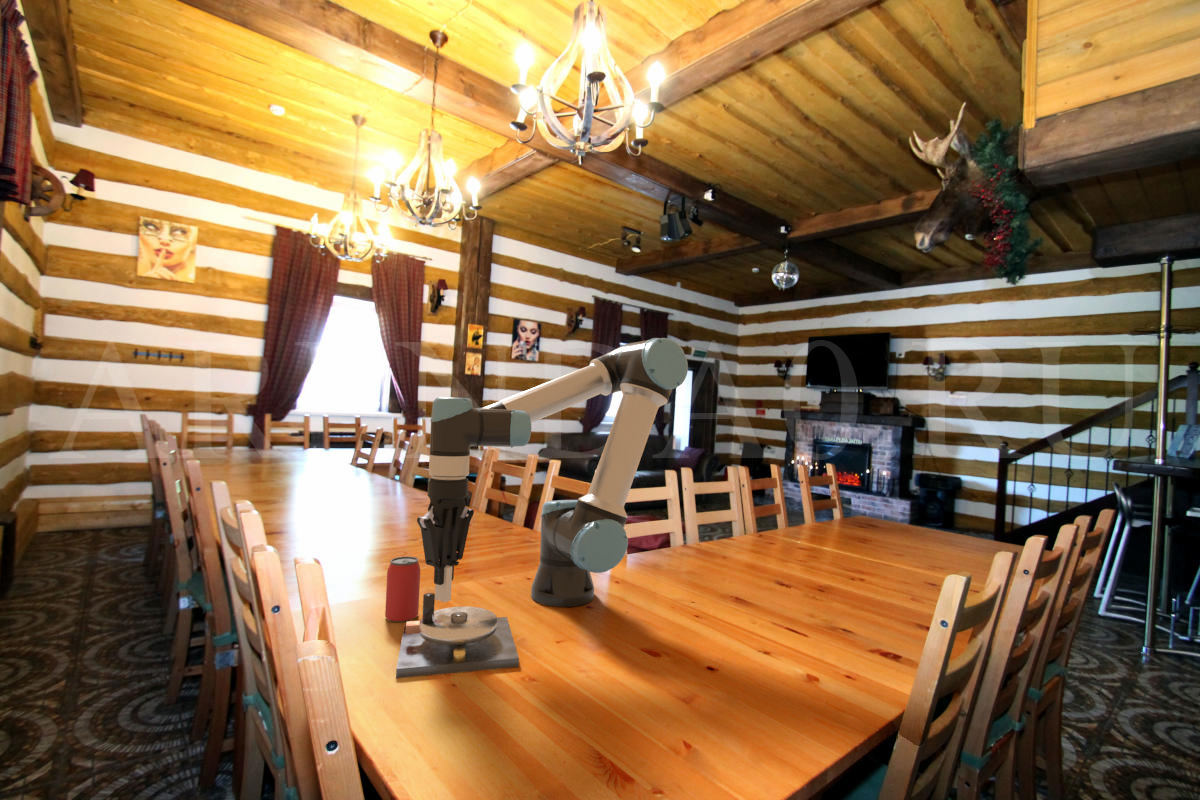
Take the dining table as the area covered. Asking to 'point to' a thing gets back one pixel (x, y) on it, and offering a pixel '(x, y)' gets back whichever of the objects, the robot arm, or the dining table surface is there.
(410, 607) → the beer can
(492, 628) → the silver disc with handle
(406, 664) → the base plate
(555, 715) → the dining table surface
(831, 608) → the dining table surface
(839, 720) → the dining table surface
